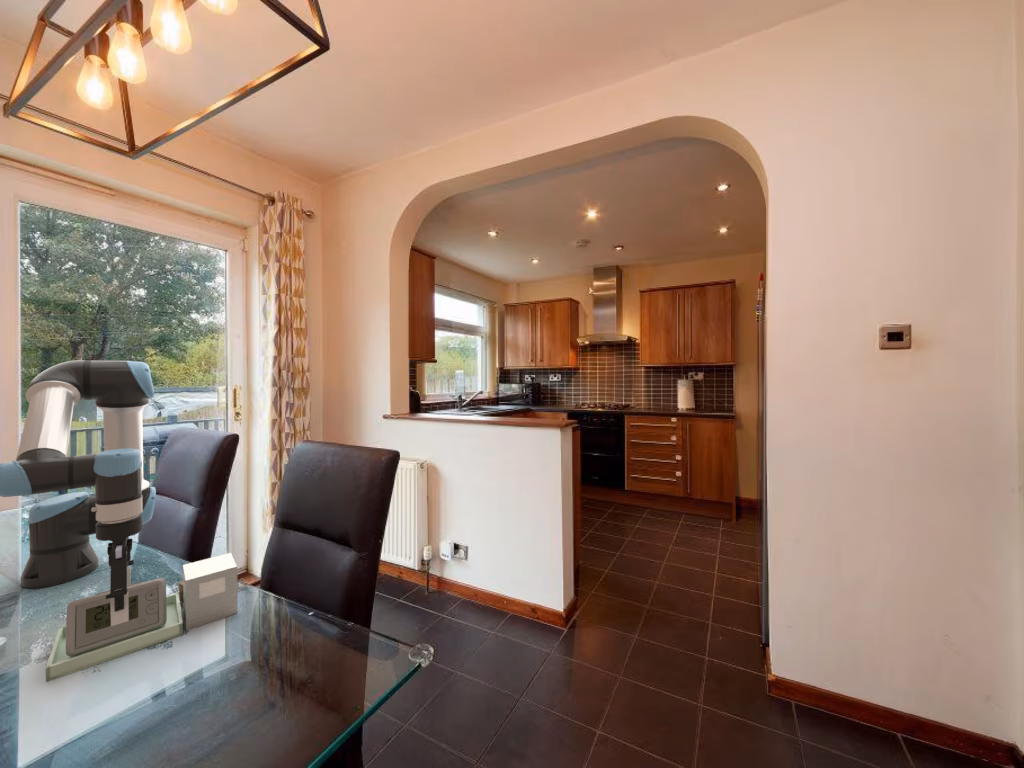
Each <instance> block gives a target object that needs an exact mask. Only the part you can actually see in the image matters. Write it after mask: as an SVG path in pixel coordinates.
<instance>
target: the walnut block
mask: <svg viewBox="0 0 1024 768" xmlns="http://www.w3.org/2000/svg"><path fill="white" fill-rule="evenodd" d="M178 593H179V600H180V604H183V580H182V581H180V582H178Z"/></svg>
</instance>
